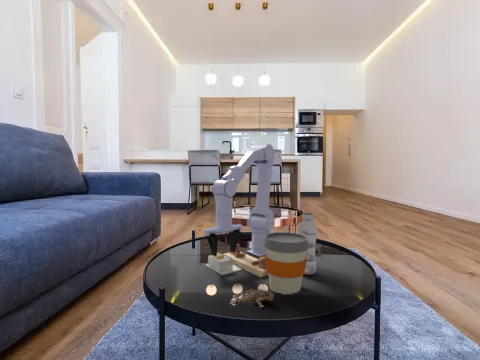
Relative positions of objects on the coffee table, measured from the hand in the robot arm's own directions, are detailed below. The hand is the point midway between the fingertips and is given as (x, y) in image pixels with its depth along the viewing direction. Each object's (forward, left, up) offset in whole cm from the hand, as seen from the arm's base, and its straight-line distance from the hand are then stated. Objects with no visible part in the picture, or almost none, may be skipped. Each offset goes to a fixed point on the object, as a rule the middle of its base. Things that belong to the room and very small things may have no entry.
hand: (223, 253), depth 100 cm
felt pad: (0, 0, -5) cm, 5 cm away
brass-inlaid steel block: (+2, 0, -5) cm, 5 cm away
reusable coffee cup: (-6, +24, -5) cm, 25 cm away
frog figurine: (+7, +25, -6) cm, 27 cm away
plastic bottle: (-20, +20, -5) cm, 29 cm away
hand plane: (-8, +3, -5) cm, 10 cm away
